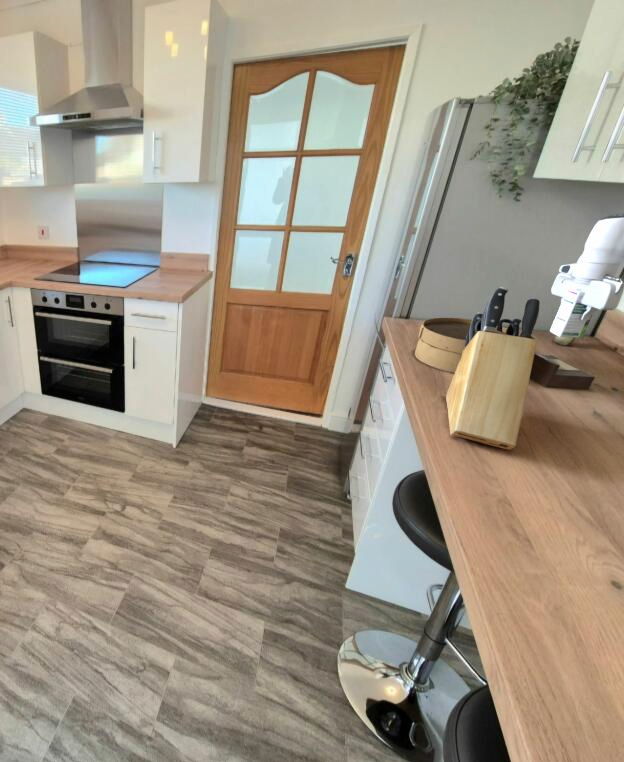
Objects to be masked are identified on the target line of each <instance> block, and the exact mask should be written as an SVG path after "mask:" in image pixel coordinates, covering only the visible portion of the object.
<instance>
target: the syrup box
mask: <svg viewBox="0 0 624 762" xmlns="http://www.w3.org/2000/svg"><path fill="white" fill-rule="evenodd" d="M584 294H585V292H584V291H581V290H578V289H573V288H568V289H567V291H566V294H565V296H564V298H563V301H562V303H561V302H560V306H559V308H558V310H557V313H556V315H555V318H554V320H553V322H552V324H551V327H550V330H549V332H550V333H552V334H553V335H555V336H559V337H572V338H575V339H582V338H583V336H584V335H585V332H586V331H587V328H588V326H589V324H590V322H591V320H592V317H593V315H594V314H592V315H591V317H590V319H589V320H587V321H585V320H581V319H579V317H580V314H581V313H582V314H584V313H585V312H586V311H587V310H588V309H586V308H587V305H584V304H581V301H582V298H583V296H584Z"/></svg>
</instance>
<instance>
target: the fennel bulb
mask: <svg viewBox="0 0 624 762" xmlns="http://www.w3.org/2000/svg"><path fill="white" fill-rule="evenodd" d="M575 340H576V338H572V337H559V336H557V335H555V337H554V342H555V343H557V344H558V345H562V346H571V345H572V344H573V343H574V341H575Z"/></svg>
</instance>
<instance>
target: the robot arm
mask: <svg viewBox="0 0 624 762" xmlns="http://www.w3.org/2000/svg"><path fill="white" fill-rule="evenodd" d="M583 247H584V250H583V252H582V254H581V255H580V256H579V257H578V259H577V261H576V263H575V262H574V263H568V264H563V265H560V266H559V269H558V274H557V275H556V277H555V279H554V281H553V283H552V286H551V288H550V291H551V295H553V296H557V297H560V298H561V299H560V304H561V303H562V301H563V298H564V296H565V294H566V291H567V289H568V288H573V289H578V290H581V291H584V292H585V294H584V296H583V298H582V301H581V304H584V305H587V308H586V309H588V310H587V311H586V312H585V313H584V314H582V313H581V314H580V317H579V319H581V320H585V321H587V320H589V319H590V317H591V315H592V314H593V315H594V314H595V313H597V312H598V311H599V310H600V311H614V310H616V309H617V307H618V306H619V303H620V301H621V299H622V295H623V294H624V293H623V292H624V281H623V278H622V277H619V276H616V274H617V272H618V270H619V268H620V266H621V264H622V262H623V261H624V213H617V214H611V215H607V216H604V217H602V218H601V219H599V220H598V221H597V222H596V223H595V224H594V226H593V228H592V229H591V231H590V233H589V235H588V237H587V238H586V241H585V244H584V246H583ZM593 315H592V316H593ZM591 318H592V317H591Z"/></svg>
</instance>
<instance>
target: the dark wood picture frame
mask: <svg viewBox="0 0 624 762" xmlns="http://www.w3.org/2000/svg"><path fill="white" fill-rule="evenodd" d="M529 379H532V380H533V381H535V382H537V383H538V384H540V385H541V386H543V387H545V388H555V389H556V388H558V389H573V390H575V389H576V390H590V387H591V386H592V384H593V382H594V380H595V379H596V377H595V376H594V375H593V374H590V373H588V372H586V371H585V370H582V369H580V368H578V367H576V366H574V365H572V364H570V363H569V362H566V361H565V360H563V359H560V358H558V357H556V356H555V355H552V354H549V355H548V354H539V353H537V352H536V351H535V354H534V359H533V364H532V369H531V374H530V378H529Z"/></svg>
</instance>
